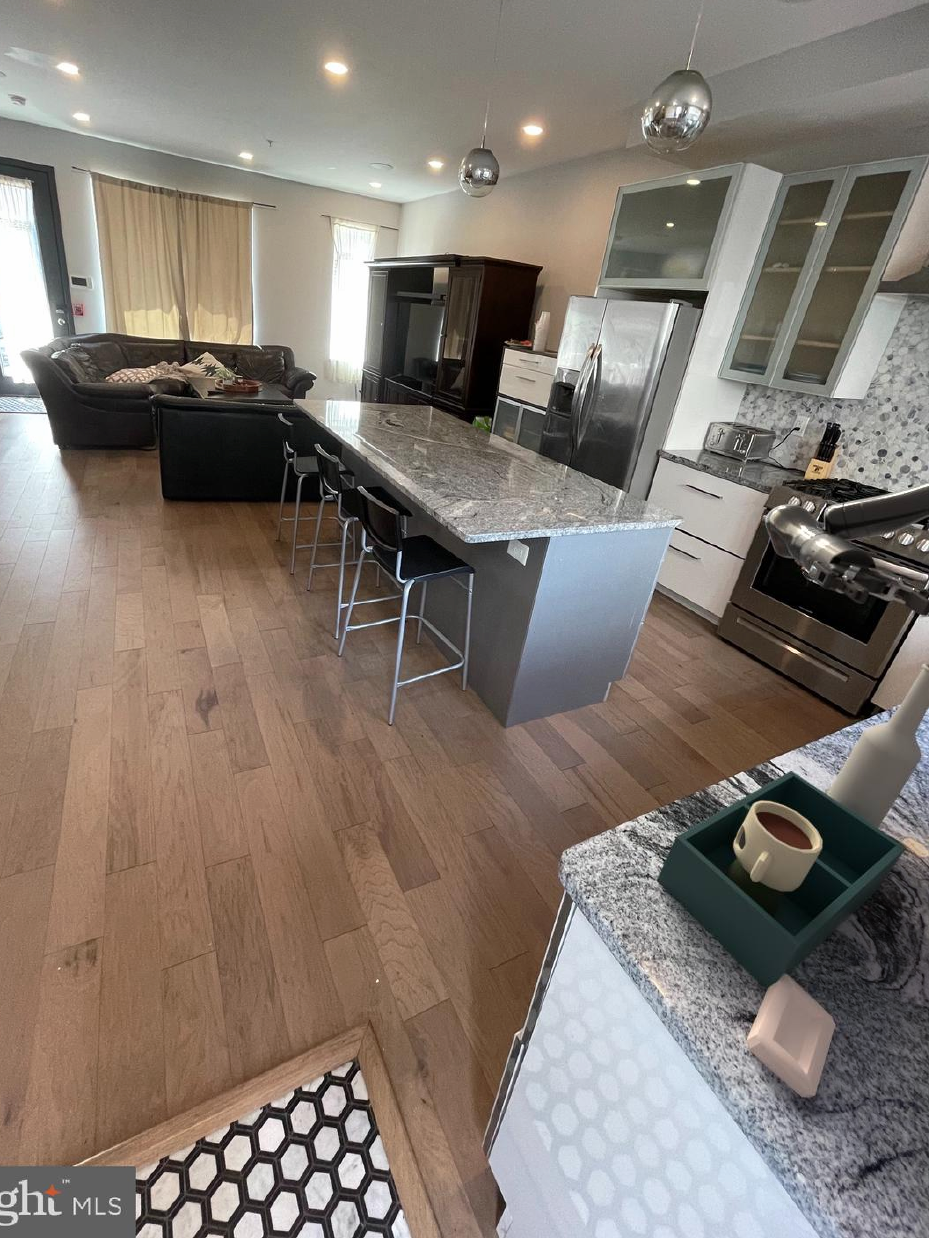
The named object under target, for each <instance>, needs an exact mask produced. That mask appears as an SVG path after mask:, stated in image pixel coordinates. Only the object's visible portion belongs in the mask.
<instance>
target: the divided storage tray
mask: <svg viewBox="0 0 929 1238" xmlns="http://www.w3.org/2000/svg"><path fill="white" fill-rule="evenodd" d="M758 801H771V802H775V803H778V804H782V805H784V806H786V807H788V808H790V809H792V810H794V811H796V812H797V813H799V814H800V815H801V816H803V817H804V818H805V819H807V820H808V821H809V822H810V823H811V824H812V825H813V826H814V827H815V829H816V830H817V831H818V833H819V835H820V837H821V839H822V849H821V851H820V853H819V855H818V857H817V858H816V860H815V862H814V863H813V865H812V867H811V868H810V870H809V872H808V873H807V875H806V877H805V878H804V880H803V882H802V883H801V885H800V886H799V887H798V888H796V889H795V890H793V891H784V894H783V897H782V900H781V903H780V906H779V909H778V911H777V913H776V916H775V918H774V919H773V918H772V917H771V916H770V915H769V914H768V913H767V912H766V911H765V910H763V909H762V908H761V907H760V906H759V905H758V904H757V903H756V902H755V901H753V900H752V899H751V898H750V897H749V896H748V895H747V894H746V893H745V892H743V891H742V890H741V889H740V888H739V887H738V886H737V885H736V884H734V883H733V882H732V881H731V880H730V879H729V878H728V877H727V876H726V875H724V873H725V872H726V871H727V869H728V868H729V867H730V866H731V864H732V863H733V862H734V861H735V860H736V858H737V856H736V854H735V852H734V848H733V845H734V840H735V838H736V836H737V834H738V831H739V830H740V828H741V826H742V824H743V822H744V821H745V819H746V817H747V815H748V813H749V811H750V809H751V807H752V805H753V804H754V803H755V802H758ZM906 850H907V847H906V846H904V845H902V844H901V843H899V842H898V841H896V839H893V838H892V837H890V836H889V835H888V834H886V833H885V832H883V831H881V830H880V829H879V828H878V829H877V828H875V827H874V826H872V825H871V824H869V823H868V822H867V821H865V820H864V819H862V818H861V817H859V816H858V815H856V814H855V813H853V812H852V811H850V810H849V809H847V808H846V807H844V806H843V805H841V804H840V803H838V802H837V801H835V800H834V799H833V798H831V797H830V796H828V795H827V793H826V792H824V791H822V790H821V789H819V788H818V787H817V786H815V785H813V784H812V783H810V782H809V781H807V780H806V779H804V778H803V777H802V776H800V775H798V774H797V773H795V772H794V771H793V770H789V771H788V772H786V773H785V774H782V775H781V776H779V777H777V778H776V779H774V780H773V781H771V782H769V783H767V784H766V785H764V786H761V787H760V788H758V789H757V790H755V791H753V792H752V793H750V794H748V795H746V796H745V797H743V798H741V799H739V800H737V801H736V802H734V803H732V804H730V805H729V806H727V807H725V808H723V809H721V810H720V811H719V812H718V811H717V812H716V813H715V814H712V815H711V816H710V817H707V818H706V819H704V820H702V821H701V822H699V823H698V824H695V825H694V826H692V827H690V828H689V829H687V830H685V831H683V832H681V833H680V834H678V835H677V836H675V838H674V840H673V843H672V845H671V847H670V849H669V851H668V854H667V855H666V858H665V860H664V863H663V865H662V867H661V869H660V872H659V874H658V875H657V878H656V880H657V881H658V883H659V884H660V885H662V886H663V888H664V889H665V890H667V891H668V893H670V895H672V897H673V898H674V899H675V900H677V902H678V903H679V904H680V905H681V906H682V907H684V909H685V910H686V911H687V912H688V913H689V914H690V915H691V916H692V917H693V918H694V919H695V920H696V921H697V922H698V923H699V924H700V925H701V926H702V927H703V928H704V929H705V930H706V931H707V932H708V933H709V934H710V935H711V936H712V937H713V938H714V939H715V940H716V941H717V942H718V943H719V944H720V945H721V946H722V947H723V948H724V949H725V950H726V951H727V952H728V953H729V954H730V955H731V956H732V957H733V958H734V959H735V960H736V961H737V962H738V963H739V964H740V965H741V966H742V967H743V969H745V970H746V971H747V972H748V973H749V974H750V975H751V976H752V977H753V978H754V979H755V980H756V981H757V982H758V983H759V985H760V986H762V987H763V988H764V989H765V990H766V991H767V990H768V988H769V987H770V986H771V985H773V984H775V983H776V982H777V981H778V980H779V979H780V978H781V977H782V976H783V975H784V974H788V975H789V976H790V974H792V973H793V972H794V971H795V970H796V969H797V968H798V967H799V966H800V965H801V964H802V963H803V962H804V961H805V960H806V959H807V958H808V957H809V956H810V955H812V953H814V952H815V950H816V949H818V947H820V946H821V945H822V944H823V943H824V942H825V941H826V940H827V939H828V938H829V937H830V936H831V935H832V934H833V933H835V932H836V930H838V929H839V928H840V927H841V926H842V925H843V924H844V923H845V922H846V921H847V920H848V919H849V918H850V917H851V916H852V915H853V914H854V913H855V912H856V911H857V910H858V909H859V908H861V906H862V905H864V903H866V902H867V901H868V900H869V899H870V898H871V897H872V896H873V895H874V894H875V893H876V892H877V891H878V890H879V889H880V888H881V886H882V885H883V883H884V882H885V881H886V879H887V878H888V876H889V874H890V873H891V872H892V870H893V869H894V867H895V865H896V864H897V863H898V861H899V860H900V858H901V857H902V855H903V854H904V852H905V851H906Z"/></svg>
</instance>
